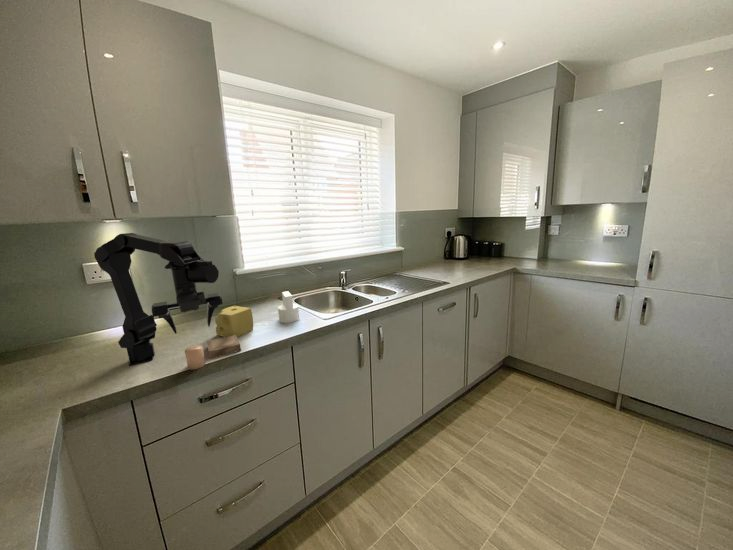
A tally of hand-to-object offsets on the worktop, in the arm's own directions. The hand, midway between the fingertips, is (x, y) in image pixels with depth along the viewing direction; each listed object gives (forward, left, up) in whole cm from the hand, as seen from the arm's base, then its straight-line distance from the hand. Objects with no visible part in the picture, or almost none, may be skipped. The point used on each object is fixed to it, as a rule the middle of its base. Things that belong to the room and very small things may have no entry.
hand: (192, 329), depth 95 cm
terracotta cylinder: (-1, -1, -12) cm, 12 cm away
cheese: (+14, +21, -12) cm, 28 cm away
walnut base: (+8, +7, -12) cm, 16 cm away
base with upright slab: (+37, +23, -12) cm, 46 cm away
